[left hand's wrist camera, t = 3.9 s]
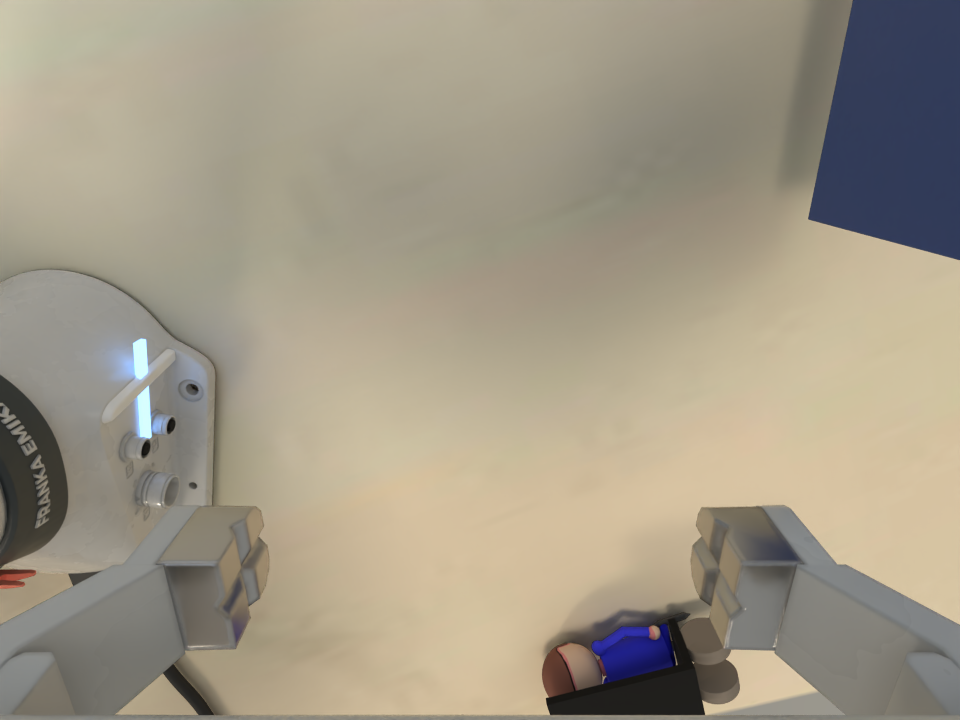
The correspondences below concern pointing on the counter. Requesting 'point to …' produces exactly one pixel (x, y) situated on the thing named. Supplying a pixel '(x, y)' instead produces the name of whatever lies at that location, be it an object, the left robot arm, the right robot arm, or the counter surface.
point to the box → (896, 127)
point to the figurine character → (642, 672)
